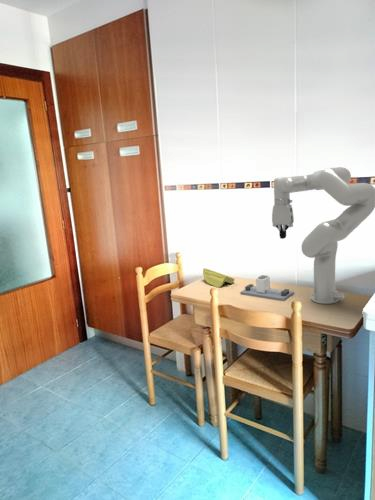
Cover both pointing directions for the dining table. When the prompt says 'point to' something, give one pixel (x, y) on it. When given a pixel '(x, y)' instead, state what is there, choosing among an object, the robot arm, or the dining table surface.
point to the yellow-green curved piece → (216, 278)
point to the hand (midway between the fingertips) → (282, 238)
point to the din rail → (268, 290)
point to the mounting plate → (267, 295)
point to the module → (262, 283)
